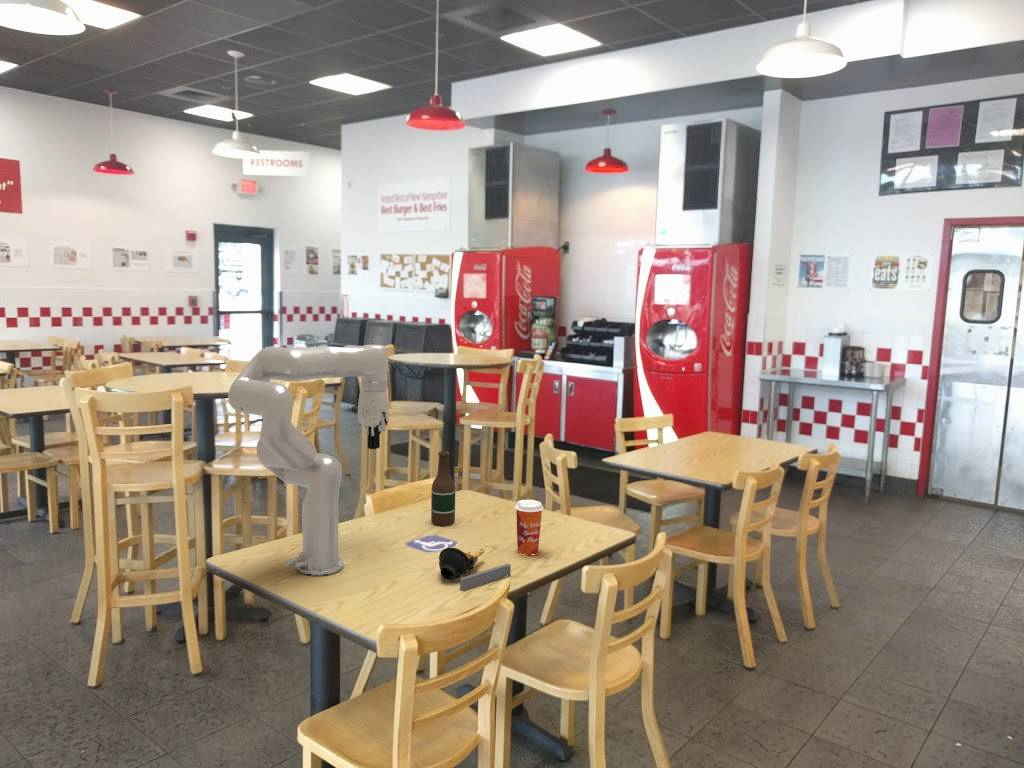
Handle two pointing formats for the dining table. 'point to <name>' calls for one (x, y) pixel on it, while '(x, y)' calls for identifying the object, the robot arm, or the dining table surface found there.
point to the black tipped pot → (456, 562)
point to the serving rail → (484, 577)
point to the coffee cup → (528, 526)
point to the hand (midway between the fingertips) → (373, 448)
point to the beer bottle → (443, 494)
